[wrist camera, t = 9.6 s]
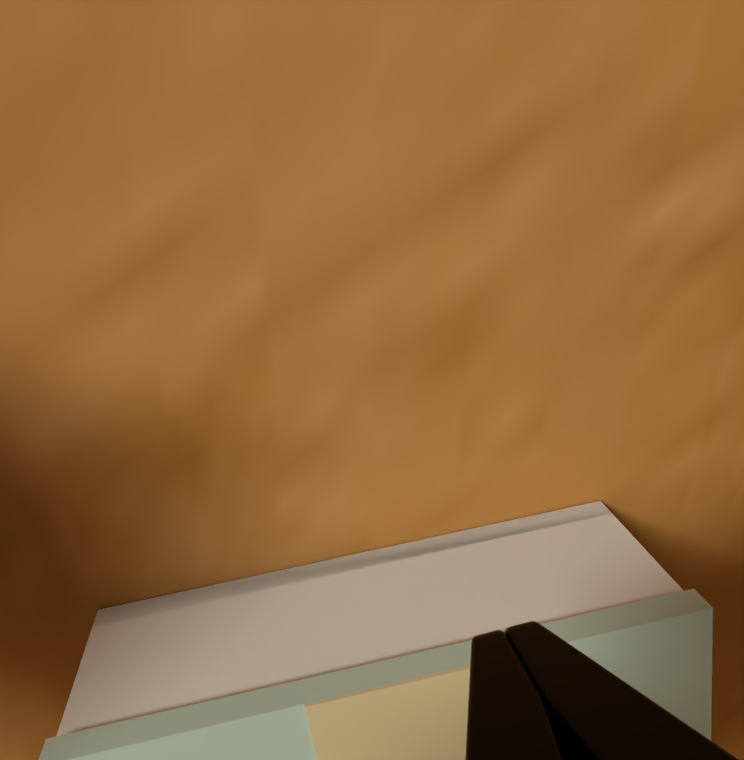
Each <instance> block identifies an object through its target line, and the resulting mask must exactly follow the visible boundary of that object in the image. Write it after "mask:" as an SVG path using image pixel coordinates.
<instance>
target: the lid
mask: <svg viewBox="0 0 744 760" xmlns="http://www.w3.org/2000/svg"><path fill="white" fill-rule="evenodd" d="M541 625H542V626H544V627H545V628H547V629H548V630H550V631H551V632H553V633H554V634H556V635H557V636H558V637H560V638H561V639H563V640H564V641H566V642H567V643H569V644H570V645H572V646H573V647H575V648H576V649H577V650H579V651H580V652H582V653H583V654H585V655H586V656H588V657H589V658H591V659H592V660H594V661H595V662H596V663H598V664H599V665H601V666H602V667H604V668H605V669H607V670H608V671H610V672H611V673H613V674H614V675H615V676H617V677H618V678H620V679H621V680H623V681H624V682H626V683H627V684H629V685H630V686H632V687H633V688H634V689H636V690H637V691H639V692H640V693H642V694H643V695H645V696H646V697H648V698H649V699H651V700H652V701H653V702H655V703H656V704H658V705H659V706H661V707H662V708H664V709H665V710H667V711H668V712H670V713H671V714H672V715H674V716H675V717H677V718H678V719H680V720H681V721H683V722H684V723H686V724H687V725H689V726H690V727H691V728H693V729H694V730H696V731H697V732H699V733H700V734H702V735H703V736H705V737H706V738H708V739H709V740H710V741H711V719H712V645H713V607H712V606H711V605H710V604H709V603H708V602H707V601H706V600H705V599H704V598H703V597H702V596H701V595H700V594H699V593H698V592H697V591H696V590H695V589H689V590H685V591H681V592H676V593H672V594H668V595H664V596H659V597H655V598H651V599H646V600H642V601H638V602H633V603H629V604H625V605H620V606H616V607H612V608H607V609H603V610H599V611H595V612H590V613H586V614H582V615H577V616H573V617H569V618H564V619H560V620H556V621H551V622H547V623H543V624H541ZM471 642H472V640H469V641H465V642H461V643H457V644H452V645H448V646H444V647H439V648H435V649H431V650H426V651H422V652H418V653H413V654H409V655H405V656H400V657H396V658H392V659H388V660H383V661H379V662H375V663H370V664H366V665H362V666H357V667H353V668H349V669H344V670H340V671H336V672H331V673H327V674H323V675H319V676H314V677H310V678H306V679H301V680H297V681H293V682H288V683H284V684H280V685H275V686H271V687H267V688H263V689H258V690H254V691H250V692H245V693H241V694H237V695H232V696H228V697H224V698H219V699H215V700H211V701H206V702H202V703H198V704H194V705H189V706H185V707H181V708H176V709H172V710H168V711H163V712H159V713H155V714H150V715H146V716H142V717H137V718H133V719H129V720H125V721H120V722H116V723H112V724H107V725H103V726H99V727H94V728H90V729H86V730H81V731H77V732H73V733H68V734H64V735H60V736H56V737H51V738H47V739H46V740H45V743H44V746H43V749H42V751H41V754H40V757H39V760H465V756H466V737H467V717H468V698H469V679H470V660H471Z"/></svg>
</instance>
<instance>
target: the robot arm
mask: <svg viewBox="0 0 744 760" xmlns="http://www.w3.org/2000/svg"><path fill="white" fill-rule="evenodd" d="M465 760H738V759H737V758H735V757H734V756H732V755H731V754H729V753H728V752H727V751H725V750H724V749H722V748H721V747H719V746H718V745H716V744H715V743H713V742H712V741H710V740H709V739H708V738H706V737H705V736H703V735H702V734H700V733H699V732H697V731H696V730H694V729H693V728H691V727H690V726H689V725H687V724H686V723H684V722H683V721H681V720H680V719H678V718H677V717H675V716H674V715H672V714H671V713H670V712H668V711H667V710H665V709H664V708H662V707H661V706H659V705H658V704H656V703H655V702H653V701H652V700H651V699H649V698H648V697H646V696H645V695H643V694H642V693H640V692H639V691H637V690H636V689H634V688H633V687H632V686H630V685H629V684H627V683H626V682H624V681H623V680H621V679H620V678H618V677H617V676H615V675H614V674H613V673H611V672H610V671H608V670H607V669H605V668H604V667H602V666H601V665H599V664H598V663H596V662H595V661H594V660H592V659H591V658H589V657H588V656H586V655H585V654H583V653H582V652H580V651H579V650H577V649H576V648H575V647H573V646H572V645H570V644H569V643H567V642H566V641H564V640H563V639H561V638H560V637H558V636H557V635H556V634H554V633H553V632H551V631H550V630H548V629H547V628H545V627H544V626H542V625H541V624H539V623H538V622H535V621H529V622H526V623H522V624H518V625H514V626H510V627H508V628H507V629H506V630H505V632H503V631H501V630H495V631H492V632H488V633H484V634H480V635H477V636H474V637H473V639H472V642H471V660H470V679H469V698H468V717H467V737H466V756H465Z"/></svg>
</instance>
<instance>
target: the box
mask: <svg viewBox="0 0 744 760" xmlns="http://www.w3.org/2000/svg"><path fill="white" fill-rule="evenodd" d="M681 591H684V590H683V589H682V588H681V587H680V586H679V585H678V584H677V583H676V582H675V581H674V580H673V579H672V577H671V576H670V575H669V574H668V573H667V572H666V571H665V570H664V569H663V568H662V567H661V566H660V565H659V563H658V562H657V561H656V560H655V559H654V558H653V557H652V556H651V555H650V554H649V553H648V552H647V550H646V549H645V548H644V547H643V546H642V545H641V544H640V543H639V542H638V541H637V540H636V539H635V537H634V536H633V535H632V534H631V533H630V532H629V531H628V530H627V529H626V528H625V527H624V526H623V525H622V523H621V522H620V521H619V520H618V519H617V518H616V517H615V516H614V515H613V514H612V513H611V512H610V510H609V509H608V508H607V507H606V506H605V505H604V504H603V503H602V502H601V501H598V502H593V503H588V504H584V505H579V506H575V507H570V508H565V509H561V510H556V511H552V512H547V513H542V514H538V515H533V516H528V517H524V518H519V519H515V520H510V521H505V522H501V523H496V524H492V525H487V526H482V527H478V528H473V529H468V530H464V531H459V532H455V533H450V534H445V535H441V536H436V537H432V538H427V539H422V540H418V541H413V542H408V543H404V544H399V545H395V546H390V547H385V548H381V549H376V550H372V551H367V552H362V553H358V554H353V555H348V556H344V557H339V558H335V559H330V560H325V561H321V562H316V563H312V564H307V565H302V566H298V567H293V568H288V569H284V570H279V571H275V572H270V573H265V574H261V575H256V576H252V577H247V578H242V579H238V580H233V581H228V582H224V583H219V584H215V585H210V586H205V587H201V588H196V589H191V590H187V591H182V592H178V593H173V594H168V595H164V596H159V597H155V598H150V599H145V600H141V601H136V602H131V603H127V604H122V605H118V606H113V607H108V608H104V609H99V610H98V611H97V614H96V617H95V620H94V623H93V626H92V629H91V632H90V635H89V638H88V641H87V644H86V647H85V650H84V653H83V657H82V660H81V663H80V666H79V669H78V672H77V675H76V678H75V681H74V684H73V687H72V690H71V693H70V696H69V699H68V702H67V705H66V708H65V711H64V714H63V718H62V721H61V724H60V727H59V730H58V733H57V736H60V735H64V734H68V733H73V732H77V731H81V730H86V729H90V728H94V727H99V726H103V725H107V724H112V723H116V722H120V721H125V720H129V719H133V718H137V717H142V716H146V715H150V714H155V713H159V712H163V711H168V710H172V709H176V708H181V707H185V706H189V705H194V704H198V703H202V702H206V701H211V700H215V699H219V698H224V697H228V696H232V695H237V694H241V693H245V692H250V691H254V690H258V689H263V688H267V687H271V686H275V685H280V684H284V683H288V682H293V681H297V680H301V679H306V678H310V677H314V676H319V675H323V674H327V673H331V672H336V671H340V670H344V669H349V668H353V667H357V666H362V665H366V664H370V663H375V662H379V661H383V660H388V659H392V658H396V657H400V656H405V655H409V654H413V653H418V652H422V651H426V650H431V649H435V648H439V647H444V646H448V645H452V644H457V643H461V642H465V641H469V640H472V639H473V637H474V636H477V635H480V634H484V633H488V632H492V631H495V630H501V631H503V632H505V630H506V629H507V628H508V627H510V626H514V625H518V624H522V623H526V622H529V621H535V622H538V623H539V624H543V623H547V622H551V621H556V620H560V619H564V618H569V617H573V616H577V615H582V614H586V613H590V612H595V611H599V610H603V609H607V608H612V607H616V606H620V605H625V604H629V603H633V602H638V601H642V600H646V599H651V598H655V597H659V596H664V595H668V594H672V593H676V592H681Z"/></svg>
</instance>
